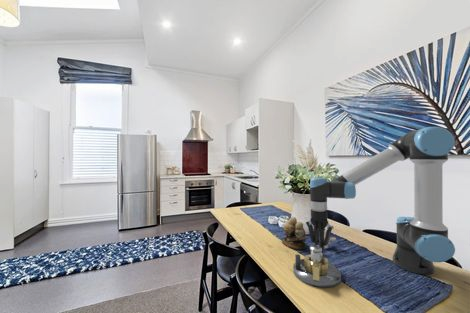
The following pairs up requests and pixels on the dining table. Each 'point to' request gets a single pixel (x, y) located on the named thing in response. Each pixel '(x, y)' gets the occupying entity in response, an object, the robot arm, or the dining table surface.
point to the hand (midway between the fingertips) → (320, 258)
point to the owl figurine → (294, 235)
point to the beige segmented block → (316, 266)
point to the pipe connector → (329, 239)
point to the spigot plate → (324, 280)
